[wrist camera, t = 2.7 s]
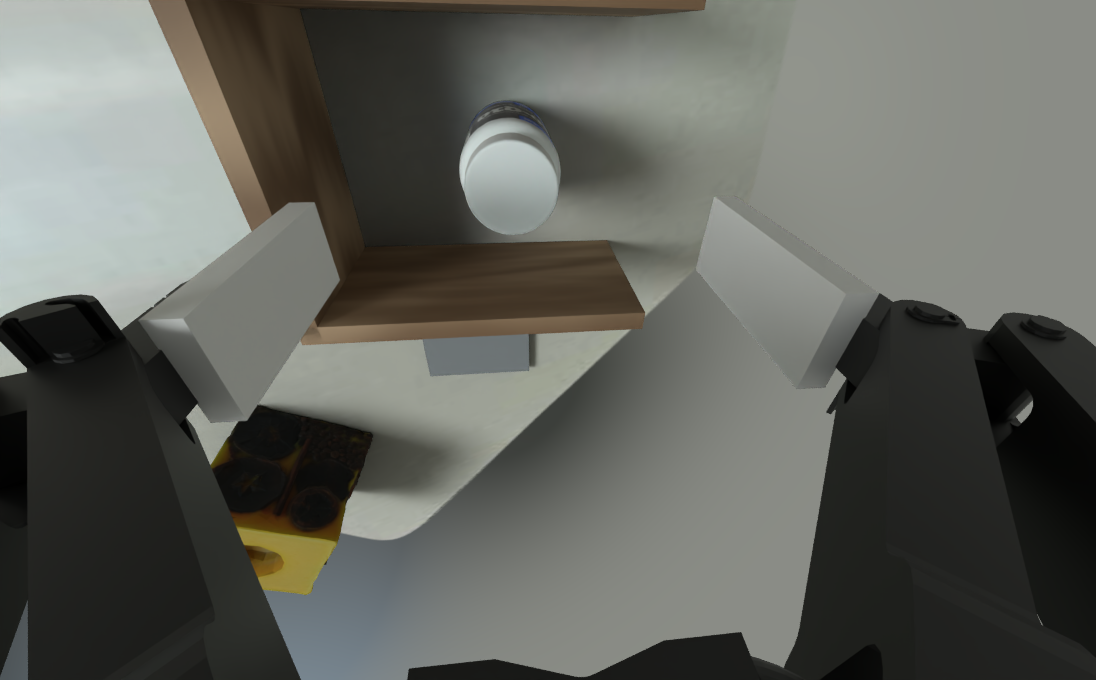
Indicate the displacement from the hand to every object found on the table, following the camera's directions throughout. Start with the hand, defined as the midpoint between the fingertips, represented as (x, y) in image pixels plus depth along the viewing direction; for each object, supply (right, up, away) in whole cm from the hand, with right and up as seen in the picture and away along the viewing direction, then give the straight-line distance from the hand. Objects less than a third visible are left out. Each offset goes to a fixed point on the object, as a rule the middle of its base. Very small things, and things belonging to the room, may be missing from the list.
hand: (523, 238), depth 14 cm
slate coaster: (-5, -3, +17) cm, 18 cm away
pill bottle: (-1, +8, +10) cm, 13 cm away
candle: (-22, -14, +24) cm, 35 cm away
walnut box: (-3, +8, +9) cm, 13 cm away
